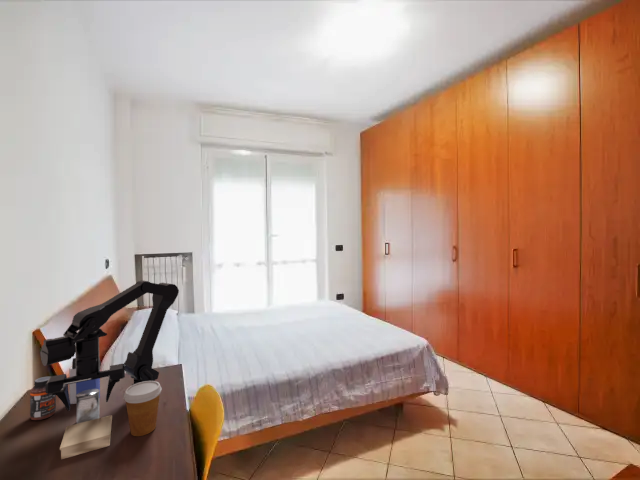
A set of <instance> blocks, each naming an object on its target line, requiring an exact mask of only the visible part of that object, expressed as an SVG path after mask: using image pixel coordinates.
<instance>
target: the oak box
mask: <svg viewBox="0 0 640 480" xmlns="http://www.w3.org/2000/svg"><path fill="white" fill-rule="evenodd" d="M112 420H113V415H107V416H103V417H100V418H98V419H94V420H90V421H86V422H82V423H78V424H77V423H75V424H71V425H67V426H66V428H65V430H64V434H63V437H62V440H61V444H60V446H59V451H60V459H61V460H65V459H68V458H72V457H75V456H78V455H81V454H86V453H88V452H92V451H96V450H99V449H102V448H103V449H104V448H106V447H109V446H110V445H111V434H112V432H111V431H112V422H113V421H112Z"/></svg>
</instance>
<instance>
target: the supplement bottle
mask: <svg viewBox="0 0 640 480" xmlns="http://www.w3.org/2000/svg"><path fill="white" fill-rule="evenodd" d="M50 377H51V376H43V377H39V378H37V379H36V378H35V380H34V384H33V385H34V386H33V387H31V389H30V391H29V396H30V397H29V406H30V407H29V409H30V410H29V416H30V419H31V420H32V421H42V420H44V419H47V418H50V417H52V416H53V415H54V414H55V413H56V409H57V404H56V403H57V402H56V401H57V395H52V393H48V394H47V393H46V390H45V387H46V383H47V382H48V380H49V378H50Z"/></svg>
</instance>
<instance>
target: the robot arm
mask: <svg viewBox="0 0 640 480" xmlns="http://www.w3.org/2000/svg"><path fill="white" fill-rule="evenodd" d="M179 292H180V291H179V288H178V286H177V285H176V284H174V283H168V282H159V283H155V282H151V281H148V280H138V281H137V282H135V284H133V285H131V286H130V287H128V288H126V289H125V290H123V291H120V293H118V294H116V295H115V296H113V297H112V298H109V299H108V300H106V301H104V302H102V303H100V304H97V305H93V306H91V307H87V308H85V309H83V310H81V311H78V312H76V313H75V314H74V316H73V317H72V321H71V323H70V325H69V326H68V328H67V329H66V331H65V332H64V333H63V336H60V337H55V338H47V339H44V340H43V341H42V342H43V343H42V345H41V350H40V359H41V360H40V361H41V363H42V365H43V366H44V367H46V366H51V365H53V364H57V363H61V362H64V361H68V360H71V359H72V362H71V365H72V366H71V367H72V369H76V376H73V377H69V376H68V377H67V373H63V374H58V375H52V376H49V377H50V378H49V380H48V382H47V383H46V387H45V390H46V393H47V394H48V393H52V395H56V397H57V398H58V399H59V400H60V401H61V402H62V404H63V406H64V407H65V408H66V410H67V412H69V411H70V410H71V404H70V392H69V384H73V383H78V382H83V381H88V380H93V379H98V378H100V379H102V378H107V377H108V381H107V388H106V395H105V402H106V403H108V402H109V399H110V397H111V394H112V391H113V389H114V387H115V386H116V383H120V382H121V379H124V378H126V375H125V374H127V375H128V376H130V378H131V379H133V383H131V386H132V385H134V384H136V383H139V382H144V381H156V380H158V378H159V375H160V371H157V370H155V369H154V368H153V365H154V354H153V353H154V351H153V350H154V347H155V344H156V342H157V340H158V336H159V335H160V334H159V333H160V331H161V329H162V326H163V323H164V320H165V317H166V314H167V312H168V309H170V307H171V306H172V305H173V304H175V302H176V300H177V297H178V296H179ZM145 294H151V295H152V300H151V301H152V308H151V311H150V314H149V315H148V318H147V321H146V324H145V326H144V329H143V332H142V334H141V337H140V340H139V342H138V346H137V347H136V349H135V350H134V351H132V352H131V351H129V352H128V353H127V355H126V359H125V361H124V363H119V364H113V365H110V366H109V369H107V370H106V369H105V370H101V359H100V338H103V337H106V336H108V333H107V332H105V331H104V330H103V329H102V328H101V327H103V326H104V325H105V324H106V323H107V322H108V321H109V319H110V318H111V317H112V316H113V315H114V314H116V313H117V312H119V311H121V310H122V309H124V308H125V307H127V306H128V305H130V304H131V303H133V302H134V301H136V300H138V299H140V298H141V297H143V296H144V295H145ZM74 356H75V357H74Z"/></svg>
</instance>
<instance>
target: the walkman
mask: <svg viewBox="0 0 640 480" xmlns="http://www.w3.org/2000/svg"><path fill="white" fill-rule="evenodd" d="M68 375H69V376H68V377H73V376H76V369H72V366H71V367H70V368H69V374H68ZM68 388H69V399H70V405H73V404H74V405H75V404H76V395H77V394H78V393H80V392H82V391H85V390H88V389H99V390H100V392H99V399H100V398H101V378H98V379H93V380H88V381H83V382H78V383H73V384H68Z"/></svg>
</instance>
